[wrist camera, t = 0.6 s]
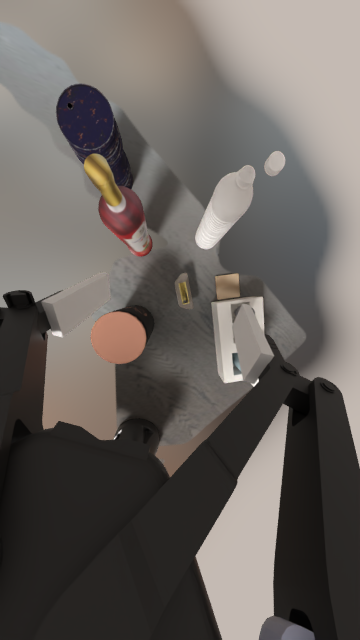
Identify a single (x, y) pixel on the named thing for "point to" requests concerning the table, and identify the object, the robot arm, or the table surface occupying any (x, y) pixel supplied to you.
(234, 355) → the cartridge
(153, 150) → the table surface
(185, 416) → the table surface
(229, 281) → the coaster
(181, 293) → the platform
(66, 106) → the storage jar
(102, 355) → the coffee jar
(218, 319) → the housing
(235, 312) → the button
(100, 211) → the liquor
